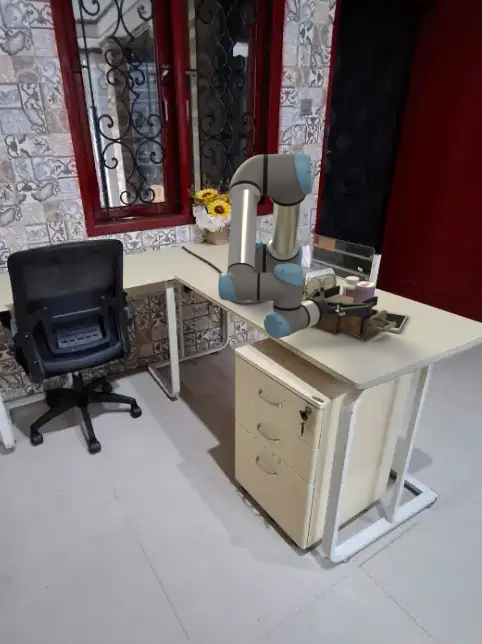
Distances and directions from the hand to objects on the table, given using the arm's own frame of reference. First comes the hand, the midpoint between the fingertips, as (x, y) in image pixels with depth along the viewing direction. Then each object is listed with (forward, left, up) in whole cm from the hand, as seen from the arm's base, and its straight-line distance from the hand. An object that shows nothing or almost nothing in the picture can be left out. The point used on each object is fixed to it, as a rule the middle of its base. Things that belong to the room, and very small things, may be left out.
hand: (357, 294), depth 129 cm
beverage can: (0, +4, -12) cm, 13 cm away
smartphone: (+4, +19, -14) cm, 24 cm away
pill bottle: (-15, +23, -15) cm, 31 cm away
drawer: (+2, +4, -13) cm, 14 cm away
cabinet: (-11, +4, -14) cm, 19 cm away
